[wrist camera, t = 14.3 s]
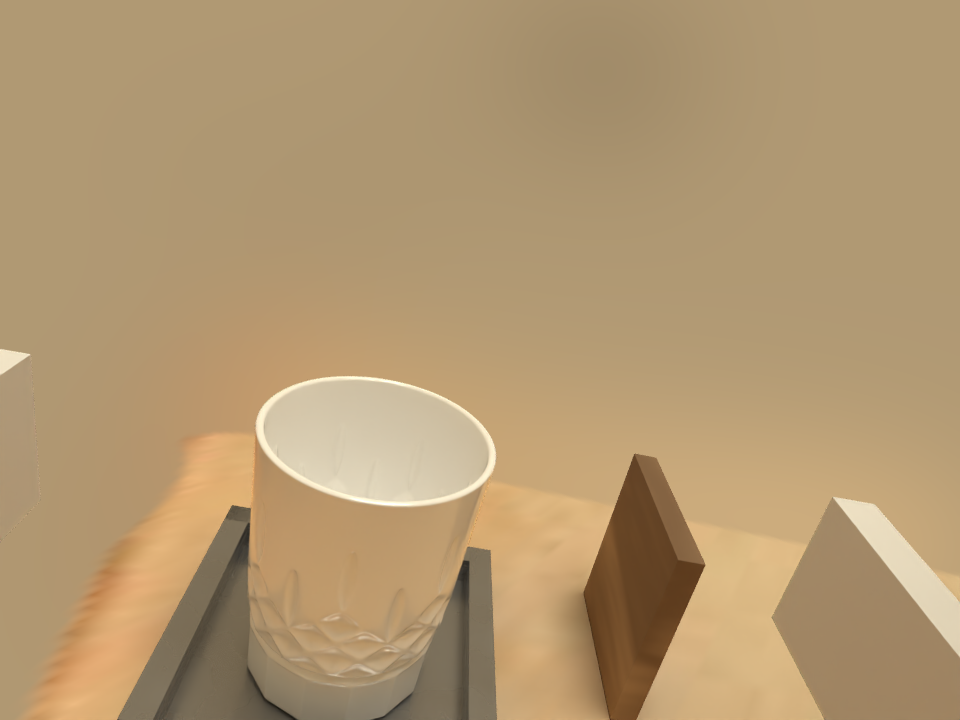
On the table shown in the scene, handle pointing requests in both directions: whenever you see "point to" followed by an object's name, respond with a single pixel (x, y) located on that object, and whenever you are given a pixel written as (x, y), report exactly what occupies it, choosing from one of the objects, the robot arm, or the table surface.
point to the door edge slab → (640, 586)
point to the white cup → (356, 539)
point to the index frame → (225, 639)
